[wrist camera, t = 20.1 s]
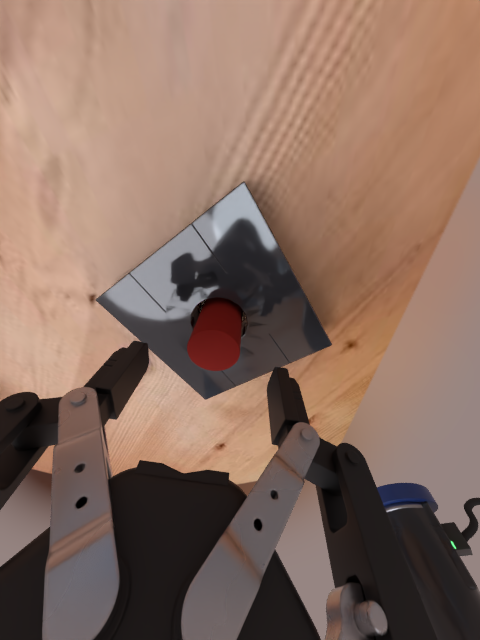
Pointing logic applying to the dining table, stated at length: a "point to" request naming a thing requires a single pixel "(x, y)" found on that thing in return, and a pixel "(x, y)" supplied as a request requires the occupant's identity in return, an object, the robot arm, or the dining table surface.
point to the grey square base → (219, 295)
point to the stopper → (216, 335)
